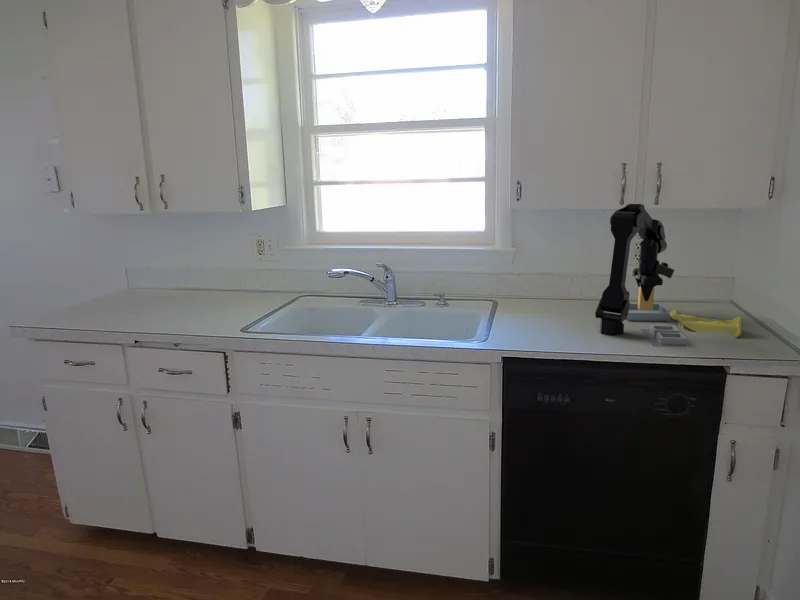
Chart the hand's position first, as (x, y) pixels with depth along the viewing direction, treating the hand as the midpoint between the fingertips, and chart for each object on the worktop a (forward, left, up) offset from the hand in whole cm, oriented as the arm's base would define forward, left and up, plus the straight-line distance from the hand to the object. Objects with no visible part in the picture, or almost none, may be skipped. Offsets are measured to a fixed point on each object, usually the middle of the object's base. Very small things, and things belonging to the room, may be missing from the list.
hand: (645, 299), depth 202 cm
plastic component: (+14, -18, -6) cm, 24 cm away
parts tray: (0, 0, -6) cm, 6 cm away
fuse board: (0, -31, -6) cm, 31 cm away
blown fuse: (0, 0, -4) cm, 4 cm away
